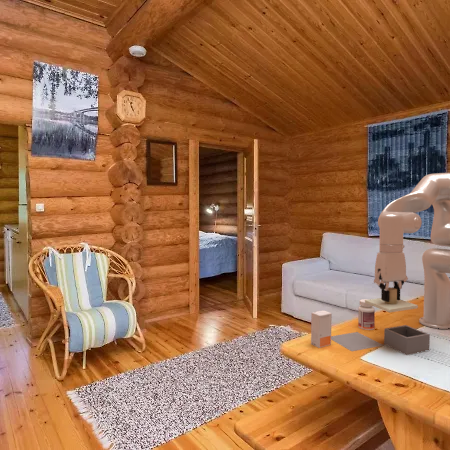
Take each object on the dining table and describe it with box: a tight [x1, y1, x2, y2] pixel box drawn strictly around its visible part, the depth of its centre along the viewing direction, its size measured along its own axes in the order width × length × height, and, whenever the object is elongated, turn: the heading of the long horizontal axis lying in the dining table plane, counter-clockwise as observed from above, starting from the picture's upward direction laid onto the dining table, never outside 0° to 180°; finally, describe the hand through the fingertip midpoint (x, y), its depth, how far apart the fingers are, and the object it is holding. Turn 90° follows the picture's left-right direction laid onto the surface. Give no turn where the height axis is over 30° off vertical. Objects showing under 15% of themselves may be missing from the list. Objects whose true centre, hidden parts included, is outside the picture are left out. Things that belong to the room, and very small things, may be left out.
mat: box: [331, 331, 385, 352], centre depth 132 cm, size 14×14×1 cm
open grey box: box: [383, 324, 431, 356], centre depth 126 cm, size 10×10×6 cm
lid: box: [365, 286, 419, 313], centre depth 127 cm, size 12×12×6 cm
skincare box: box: [310, 310, 333, 349], centre depth 129 cm, size 6×4×12 cm
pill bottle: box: [357, 298, 376, 331], centre depth 146 cm, size 6×6×11 cm
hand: (390, 299), depth 127 cm, fingers closed on lid, 4 cm apart
